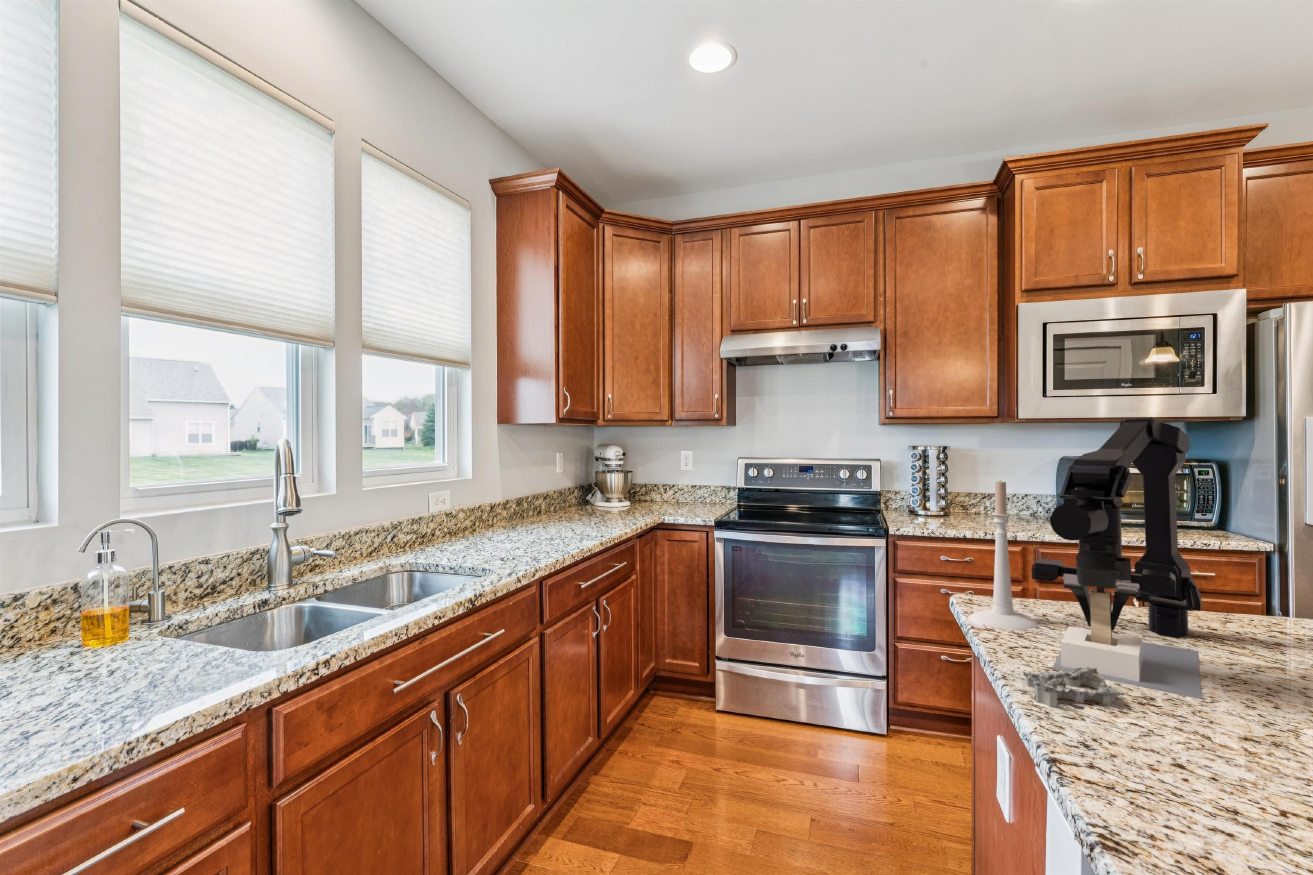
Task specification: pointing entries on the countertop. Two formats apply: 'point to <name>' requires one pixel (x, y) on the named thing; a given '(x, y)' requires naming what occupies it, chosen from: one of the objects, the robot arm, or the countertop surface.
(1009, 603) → the candlestick
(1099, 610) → the peg
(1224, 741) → the countertop surface
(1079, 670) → the egg carton
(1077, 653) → the holder
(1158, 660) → the board
